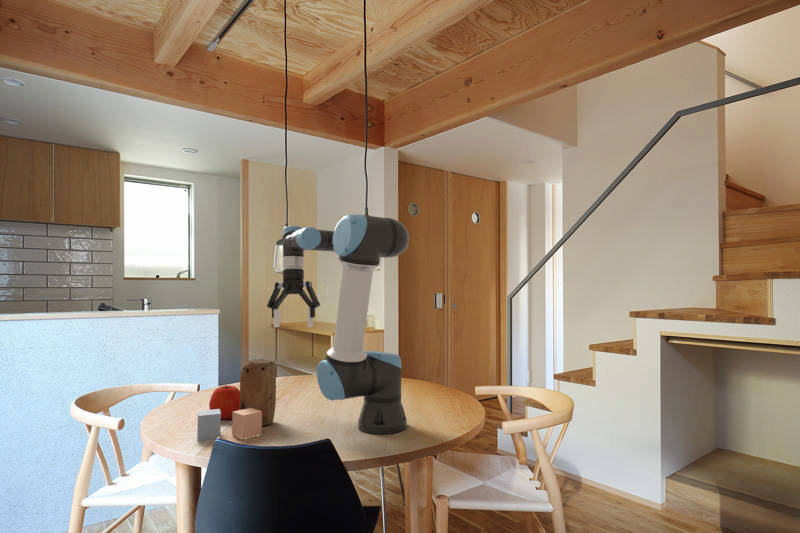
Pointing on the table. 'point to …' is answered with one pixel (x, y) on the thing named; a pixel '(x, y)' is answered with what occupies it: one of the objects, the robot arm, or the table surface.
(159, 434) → the table surface
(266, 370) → the brown long irregular lump
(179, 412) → the table surface
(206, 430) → the slate block
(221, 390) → the apple
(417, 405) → the table surface
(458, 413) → the table surface
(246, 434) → the terracotta block
